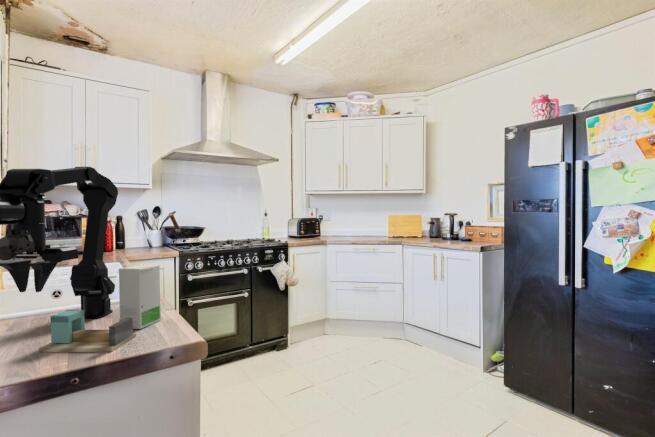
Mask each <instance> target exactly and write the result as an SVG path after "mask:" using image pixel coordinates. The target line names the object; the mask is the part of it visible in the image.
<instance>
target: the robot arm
mask: <svg viewBox="0 0 655 437" xmlns="http://www.w3.org/2000/svg"><path fill="white" fill-rule="evenodd" d="M69 184H76V189H77V191H79V193H80V194H81V195H82V202H83V204H84V205H85V207H86V209H87V211H88V212H87V218H86V226H85V233H84V242H83V248H82V249H83V250H82V256H81V260H80V261H79V262H78V263H77V264H73V265H72V267H71V275H70V277H69V281H70V285H71V289H72V292H73V294H74V296H75V297H79V296H80V310H84V319H99V318H102V317H104V316H106V315H108V314H110V313H113V309H112V306H111V298H110V295H113V293H115V288H116V284H115V283H114V282H113V281H112V279H110V277H109V269H108V267H107V265H106V263H105V262H104V252H105V244H106V243H105V242H106V235H107V228H108V227H107V225H108V218H109V212H110V211H111V210H112V209H113V208H114V206H116V203H117V199H118V194H119V189H118V187H117V186H116V185H115V184H114V183H113V181H112V180H111V179H110V178H108V177H106V176H105V175H102V174H101V173H100V172H98V171H97V170H96V168H94V167H91V166H74V167H71V168H62V169H61V168H60V169H45V168H10V169H8V170H7V171H6V174H5V176H4V177H3V179H2V180H1V181H0V226H3V225H7V226H8V225H11V228H6V231H5V236H4V237H1V238H0V267H1V268H3V269H5V270H7V271H8V273H9V274H10V276H11V278H12V280H13V281H14V283H15V285H16V287H17V289H18V291H19V293H25V292H26V291H27V288H28V284H29V277H30V272H31V268H32V270H33V277H34V279H33V280H34V289H35V290H34V291H35V293H40V292H42V291H43V289H44V287H45V285H46V283H47V282H48V279H49V278H50V276H51V274H52V272H53V271H54V270H55V268H56V266H57V265H58V264H59V263H61V262H63V261H65V262H66V261H70V260H71V261H72V260H76V259H79V250H78V248H77V247H76V246H57V247H51V244H46V233H49V232H51V228H50V227H46V210H45V206H46V205H51V204H52V203H53V201H52V200H51V199H49V198H48V197H47V196H46V195H45V194H46V193H49V192H51V191H53V190H55V188H57V187H58V186H63V185H69ZM32 259H36V261H35V262H32Z"/></svg>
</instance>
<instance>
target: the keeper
mask: <svg viewBox="0 0 655 437" xmlns="http://www.w3.org/2000/svg"><path fill="white" fill-rule="evenodd" d="M85 326H86V325H85V318H84V310H81V309H67V310H64V311H61V312H58V313H56V314H53V315H51V316H50V338H51V339H50V340H51V342H50V343H70V342H72V330H86V329H85V328H86V327H85Z"/></svg>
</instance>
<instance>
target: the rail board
mask: <svg viewBox="0 0 655 437" xmlns="http://www.w3.org/2000/svg"><path fill="white" fill-rule="evenodd" d="M136 337H137V333H136V332H134V329H133V317H130V318H125V319H123V320H121V321H120V320H119V321H118V322H115V323H112V324H111V325H110V326H108V329H85V330H72V342H70V343H51V342H49V343H47V344H45V345H42V346H41V347H39V348H38V353H44V352H45V353H53V352H55V353H63V352H65V353H66V352H67V353H68V352H70V353H72V352H73V353H74V352H75V353H77V352H78V353H81V352H82V353H85V352H86V353H91V352H93V353H94V352H95V353H97V352H98V353H99V352H101V353H102V352H105V353H107V352H109V353H112V352H114V351H116V349H119V348H120V347H121V346H123V345H125V344H127V343H128V342H130V341H131V340H132V339H133V340H134V338H136Z"/></svg>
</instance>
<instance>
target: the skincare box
mask: <svg viewBox="0 0 655 437" xmlns="http://www.w3.org/2000/svg"><path fill="white" fill-rule="evenodd" d="M160 271H161V270H160V265H159V264H138V265H134V266H133V265H132V266H127V267H121V268H120V267H119V268H118V282H119V283H118V285H119V286H118V287H119V289H118V290H119V292H118V293H119V321H121V320H123V319H125V318H130V317H133V330H141V329H144V328H146V327H149V326H150V325H154V324H156V323H158V322H160V321H161V320H162V318H161V317H162V315H161V309H162V307H161V276H160V275H161V274H160Z"/></svg>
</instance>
